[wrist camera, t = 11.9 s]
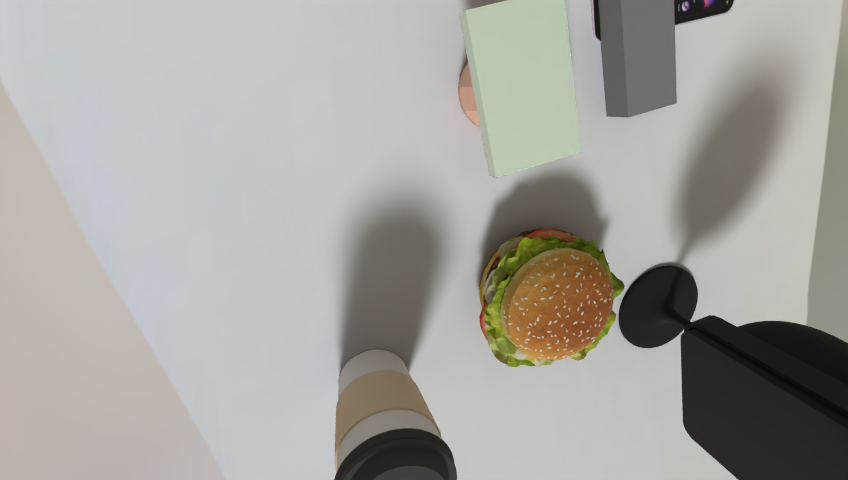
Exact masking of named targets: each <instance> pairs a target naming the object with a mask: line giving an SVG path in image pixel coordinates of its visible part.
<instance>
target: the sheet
mask: <svg viewBox="0 0 848 480" xmlns="http://www.w3.org/2000/svg"><path fill="white" fill-rule="evenodd" d="M459 16H460V21H461V27H462V32H463V37H464V43H465V48H466V53H467V59H468V64H469V70H470V75H471V80H472V86H473V91H474V96H475V102H476V107H477V112H478V118H479V123H480V128H481V134H482V139H483V144H484V150H485V155H486V160H487V166H488V171H489V175H490V176H492V177H495V178H498V177H501V176H505V175H508V174H511V173H515V172H518V171H521V170H524V169H528V168H531V167H534V166H538V165H541V164H544V163H547V162H551V161H554V160H557V159H561V158H564V157H567V156H571V155H574V154H577V153H580V152H581V146H580V136H579V127H578V118H577V108H576V99H575V90H574V80H573V71H572V62H571V52H570V43H569V33H568V24H567V15H566V5H565V0H506V1H502V2H498V3H494V4H490V5H485V6H481V7H477V8H473V9H469V10H465V11H463V12H462V13H460V14H459Z"/></svg>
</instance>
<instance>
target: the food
mask: <svg viewBox="0 0 848 480" xmlns="http://www.w3.org/2000/svg"><path fill="white" fill-rule="evenodd" d="M623 289H624V284H623V282H622V281H621V280H619V279H618V278H616V277H615V275H614V274H613V273H612V272H610V269H609V265H608V263H607V261H606V258H605V255H604V252H603V249H602V251H601V252H600V251H599V250H598V248H597V246H596V243H595V242H594V241H593V240H591V241H586V240H583V239H581V238H579V237H577V236H575V235H573V234H571V233H568V232H565V231H561V230H558V229H538V230H532V231H527V232H522V233H521V234H520V235H519V236H517V237H514V238H513V239H511V240H509V241H507V242H505V243H504V244H502V245H501V246H500V248H499V250H498V251H497V252H496V253H494V254H493V256H492V258H491V260H490V261H489V263H488V265H487V267H486V268H485V270H484V272H483V276H482V280H481V284H480V288H479V290H480V301H481V306H482V311H481V314H480V326H481V329H482V331H483V333H484V336H485V338H486V340H487V341H488V344H489V347H490V348H491V349H492V351H493V354H494V355H495V357H496V358H497V359H498V360H499V361H501V362H503V363H505V364H507V366H511V367H518V366H519V365H528V366H535V365H536V366H541V365H551V364H552V363H554V362H555V361H556V360H559V359H564V358H567V357H569V358H572V359H575V360H581V359H583V358H584V357H585V356H586V354H587V352H588V351H589V350H591V349H593V348H595V347H596V345H597V344H598V342H599V341H600V340H601V339H602V338H603V337H604V336H605V335H607V333H608V331H609V329H610V327H611V325H612V324H613V323H614V321H615V318H616V314H615V313H614V312H613V311H612V306H613V300H614V299H615V298H616V297H617V296H618V295H619V294H620V293H621V292H622V291H623Z"/></svg>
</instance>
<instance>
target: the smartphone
mask: <svg viewBox="0 0 848 480" xmlns="http://www.w3.org/2000/svg"><path fill="white" fill-rule="evenodd" d="M590 1H591V15H592V29H593V36H594V38H595V39H596V40H597V41H598V42H600V43H601V30H600V16H599V2H598V0H590ZM734 2H735V0H674V19H675V26H678V25H682V24H687V23H691V22H694V21H699V20H703V19H707V18H711V17H715V16H719V15H724V14H726V13H728V12H729V11H730V10H731V9H732V7H733V5H734Z"/></svg>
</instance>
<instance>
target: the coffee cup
mask: <svg viewBox="0 0 848 480" xmlns="http://www.w3.org/2000/svg"><path fill="white" fill-rule="evenodd" d="M335 469H336V472H337V473H336V476H335V480H457V472H456V467H455V464H454V459H453V455H452V452H451V450H450V448H449V447H448V445H447V444H446V443H445V442H444V441H443V440H442V438H441V434H440V431H439V428H438V426H437V424H436V422H435V420H434V418H433V416H432V414H431V412H430V411H429V409H428V407H427V405H426V403H425V401H424V399H423V397H422V395H421V393H420V391H419V389H418V387H417V385H416V383H415V382H414V381H413V380H412V378H411V376H410V374H409V372H408V370H407V368H406V366H405V364H404V362H403V361H402V359H401V358H400V357H399V356H397V355H396V354H394V353H392V352H390V351H386V350H379V349H377V350H369V351H365V352H362V353H360V354H358V355H356V356H354V357H353V358H352V359H350V360H349V361H348V362H347V363H346V365H345V366H344V367H343V369H342V371H341V373H340V376H339V391H338V402H337V407H336V432H335Z"/></svg>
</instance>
